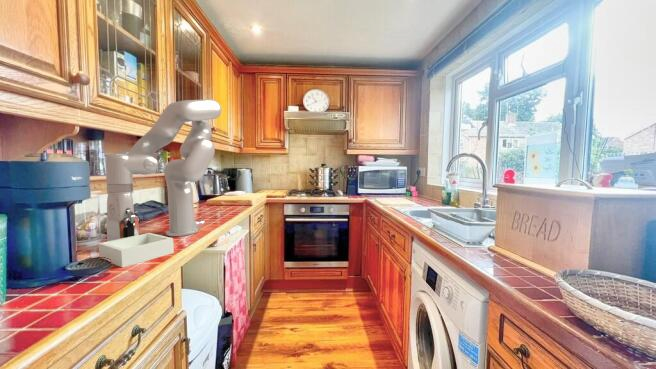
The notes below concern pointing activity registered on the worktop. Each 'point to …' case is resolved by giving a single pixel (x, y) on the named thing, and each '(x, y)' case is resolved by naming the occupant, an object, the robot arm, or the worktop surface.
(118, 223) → the small box
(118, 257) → the storage bin
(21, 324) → the worktop surface
